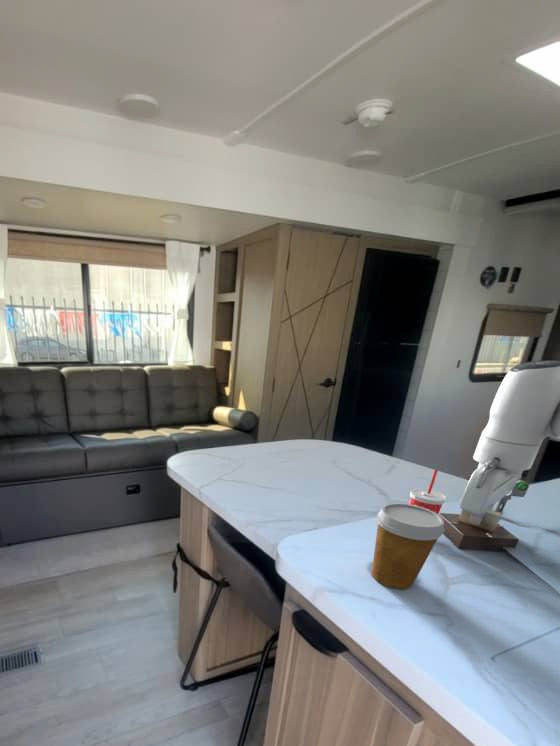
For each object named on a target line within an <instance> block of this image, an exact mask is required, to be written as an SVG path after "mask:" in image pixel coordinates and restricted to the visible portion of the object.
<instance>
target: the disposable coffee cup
mask: <svg viewBox="0 0 560 746" xmlns="http://www.w3.org/2000/svg"><path fill="white" fill-rule="evenodd" d="M376 519H377V520H376V521H377V529H376V536H375V542H374V543H375V545H374V552H373V559H372V560H373V561H372V567H371V576H372V578H373V579H374V580H375V581H376V582H377V583H379V584H381V585H383V586H385V587H387V588H391V589H394V590H409V589H410V588H412V587H413V585H414V583H415V582H416V580H417V578H418V576H419V574H420V572H421V570H422V569H423V567H424V565H425V564H426V561H427V559H428V557H429V556H430V554H431V552H432V550H433V548H434V547H435V545H436V543H437V541H438V539H440V538H441V536H442V535H444V534H443V533H444V532H445V528H444V521H443V518H442V517H441V516H439V515H438V514H436V513H435V512H433V511H431V510H428V509H425V508H422V507H419V506H415V505H410V504H409V503H402V502H392V503H387V504H385V505H383V506H382V507H381V510H379V511H378V512H377V514H376Z"/></svg>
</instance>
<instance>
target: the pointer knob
mask: <svg viewBox="0 0 560 746" xmlns="http://www.w3.org/2000/svg"><path fill="white" fill-rule="evenodd" d="M460 514H461V515H460V517H459V520H458V521H461V522H464V523H467V524H470V525H473V526H476V527H479V528H482V529H485V530H488V531H491V532H493V531H494V530H495V529H496V527H497V525H498V524H499V522H500V520H501V517H502V515H503V512H502V513H499V512H496V511H494V510H493V509H492V510H489V509H487V510H486V511H485V514H484V519H483V521H482V523H481V524H479V525H475V524H472V523H470V522H469V520H470V518H471V515H472V512H469V511H466V510H463V509H461V512H460Z"/></svg>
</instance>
